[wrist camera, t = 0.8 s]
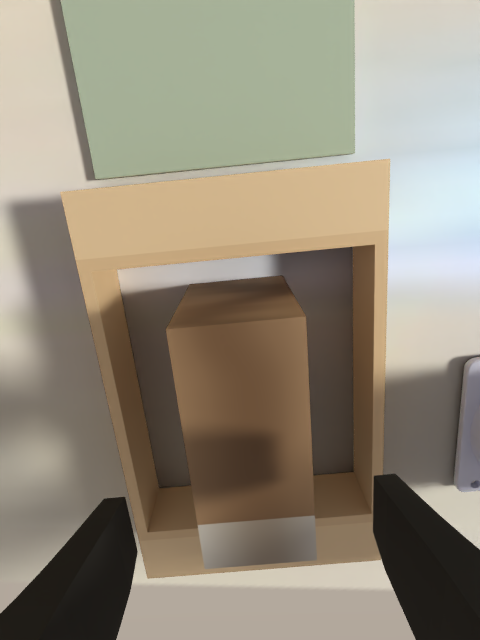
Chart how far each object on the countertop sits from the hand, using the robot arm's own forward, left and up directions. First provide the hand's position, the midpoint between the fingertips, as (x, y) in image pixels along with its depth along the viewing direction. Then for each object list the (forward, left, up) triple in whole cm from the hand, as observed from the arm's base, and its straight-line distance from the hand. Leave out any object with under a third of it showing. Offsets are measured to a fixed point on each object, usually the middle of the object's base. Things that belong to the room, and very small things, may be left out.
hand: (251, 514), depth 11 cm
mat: (0, -15, -9) cm, 18 cm away
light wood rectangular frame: (0, 0, -9) cm, 9 cm away
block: (0, 0, -9) cm, 9 cm away
